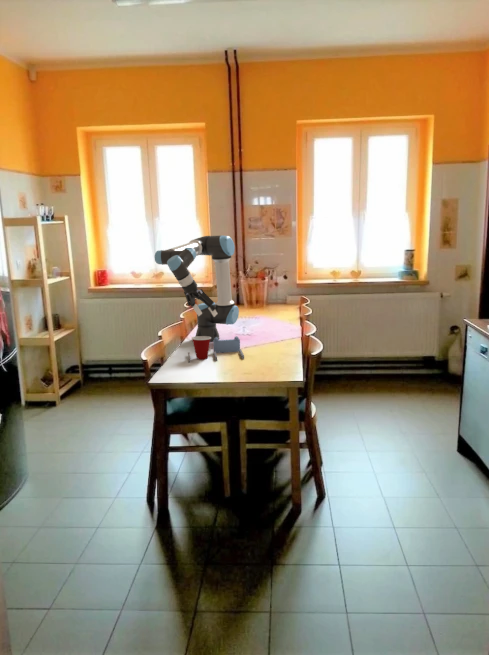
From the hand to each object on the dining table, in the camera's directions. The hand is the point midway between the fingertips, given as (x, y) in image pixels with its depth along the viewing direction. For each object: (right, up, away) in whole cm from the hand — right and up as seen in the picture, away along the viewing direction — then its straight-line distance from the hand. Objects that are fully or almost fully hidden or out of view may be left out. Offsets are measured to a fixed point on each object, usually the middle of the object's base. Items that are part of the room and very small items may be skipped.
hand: (207, 315), depth 270 cm
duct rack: (+4, -23, +8) cm, 24 cm away
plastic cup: (-3, -24, +5) cm, 25 cm away
